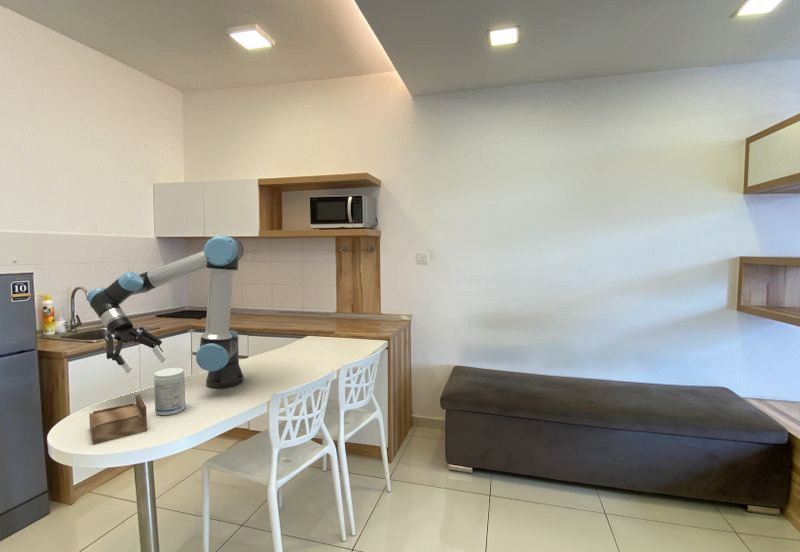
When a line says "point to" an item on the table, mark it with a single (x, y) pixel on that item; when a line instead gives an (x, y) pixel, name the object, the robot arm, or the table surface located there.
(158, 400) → the supplement tub
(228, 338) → the robot arm
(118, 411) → the shelf
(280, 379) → the table surface
